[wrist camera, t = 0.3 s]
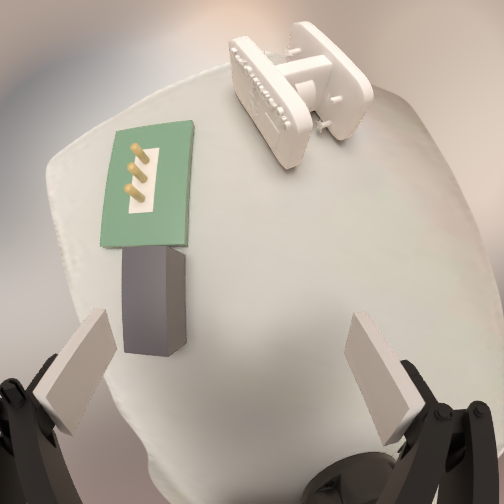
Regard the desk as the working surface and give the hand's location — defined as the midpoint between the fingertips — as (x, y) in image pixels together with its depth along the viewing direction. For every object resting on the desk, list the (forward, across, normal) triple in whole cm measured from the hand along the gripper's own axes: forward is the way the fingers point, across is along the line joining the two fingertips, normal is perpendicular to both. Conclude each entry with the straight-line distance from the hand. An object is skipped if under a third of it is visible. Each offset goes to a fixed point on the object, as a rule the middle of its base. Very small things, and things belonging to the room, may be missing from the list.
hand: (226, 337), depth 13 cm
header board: (+22, +11, -5) cm, 25 cm away
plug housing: (+16, +8, +7) cm, 19 cm away
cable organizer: (+26, -7, -14) cm, 30 cm away
